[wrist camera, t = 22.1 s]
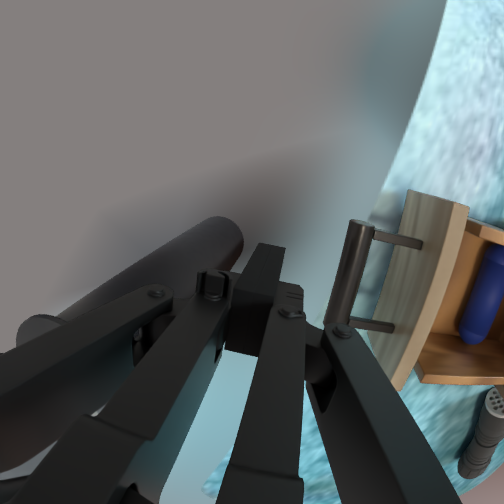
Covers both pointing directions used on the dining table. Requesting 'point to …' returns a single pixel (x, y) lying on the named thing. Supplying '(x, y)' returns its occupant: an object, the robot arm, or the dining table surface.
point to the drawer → (423, 294)
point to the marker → (484, 297)
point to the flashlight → (484, 437)
